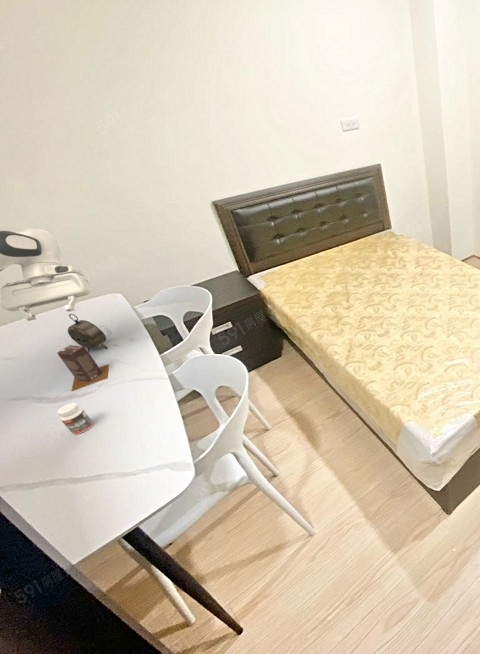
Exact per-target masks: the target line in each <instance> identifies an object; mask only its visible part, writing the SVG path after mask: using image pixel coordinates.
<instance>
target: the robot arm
mask: <svg viewBox="0 0 480 654" xmlns="http://www.w3.org/2000/svg"><path fill="white" fill-rule="evenodd" d="M60 259H61V252H60V247H59V244H58V241H57V239H56V238H55V236H54V235H53V234H52V233H51V232H49V231H48V230H45V229H41V228H25V229H22V230H19V231H10V230H0V272H2V271H4V270H5V269H6V268H8V267H10V266H12V265H19V266H20V267H21V272H22V273H21V274H22V278H23V280H18V281H15V282H8V283H6V284H5V285H3V286H2V287H1V288H0V295H1V297H0V307H1V308H2V309H3V310H6V311H8V312H18V311H19V312H20V313H21V314H23V315H24V317H25V320H26V321H28V322H30V321H34V320H36V319H37V317H36V314H34V313H30V311H31V308H35V307H36V308H37V307H40V306H44V305H49V304H54V303H58V302H63V301H67V300H69V301H68V304H65V305H64V309H65V311H66V312H72V311H75V310H76V309H75V305H76V304H77V302H78V299H79V298H81V297H85V296H89V295H90V294H91V292H92V288H91V285H90V282H89V280H88V279H87V278H86V277H85V273H84V271H82V270H81V269H79V268H78V267H75V266H74V265H73V266H72V265H63V264H62V263H61V261H60Z"/></svg>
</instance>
